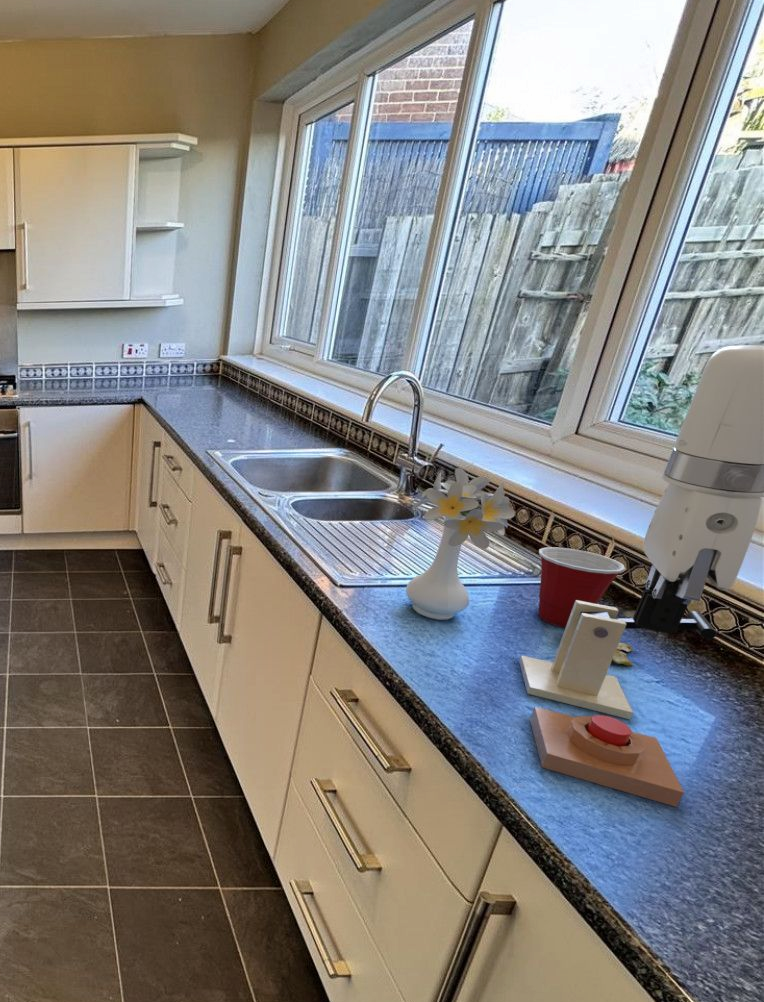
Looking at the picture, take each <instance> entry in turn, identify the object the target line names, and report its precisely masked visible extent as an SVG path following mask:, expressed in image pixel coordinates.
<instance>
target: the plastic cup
mask: <svg viewBox="0 0 764 1002" xmlns="http://www.w3.org/2000/svg"><path fill="white" fill-rule="evenodd" d="M538 555H539V557H540V565H541V572H540V573H541V575H540V582H539V583H540V585H539V594H538V595H539V597H538V598H539V600H538V601H539V602H538V617H539V618H540V619H541V620H543V621H545V622H546V623H548V624H551V625H553V626H556V627H559V628H560V627H561V628H564V629H565V628H566V625H567V623H568V620H569V617H570V614H571V612H572V609H573V606H574V603H575V601H576V600H578V601H584V602H589V603H594V604H599V602H600V600H601V599H602V597H603V596H604V594H606V591H607V590H608V589H609V587H610V585H612V584H613V582H614V580H615V579H617V577H618V575H620V574H621V573H622V572H624V571H625V570H626V568H625V567H626V566H625V565H624V564H623V563H621V562H619V561H618V560H617V559H613V558H610V557H608V556H605V555H601V554H597V553H594V552H589V551H587V550H586V551H585V550H580V549H574V548H569V547H568V548H567V547H556V546H553V547H552V546H551V547H550V546H549V547H542V548H539V549H538Z"/></svg>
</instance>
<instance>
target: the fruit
mask: <svg viewBox="0 0 764 1002" xmlns="http://www.w3.org/2000/svg"><path fill="white" fill-rule="evenodd" d="M623 651H626V652H627V653H630V652H631V651H633V647H632V645H630V644H627V643H625V642H621V641H620V642H619V644H618V647H617V649H616V652H615V654H614V657H613V659H612V662H613V663H614V664H617V665H624V666H634V664H633V662H631V661H630V660H629V659H628V654H627V653H625V652H623Z"/></svg>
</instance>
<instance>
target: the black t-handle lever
mask: <svg viewBox="0 0 764 1002" xmlns="http://www.w3.org/2000/svg"><path fill="white" fill-rule="evenodd" d="M582 613H585V614H590V615H596V616H601V617H606V618H610V616H609V614H608V612H580V614H582ZM611 619H616V620H621V621H625V623H626V627H625V629H629V630H630V629H631V630H634V629H637V630H644V629H643V628H639V627H638V626H637V625H636V623H635V622H634V620H633V618H631V617H630V618H621V617H620V618H618V617H616V618H611ZM677 630H686V631H687V630H688V631H689V630H694V631H697V633H698V634H699V635H700V636H701V637H702V638H704V639H708V640H709V639H710V640H711V639H714V638H715V637H717V635H718V633H717V631H716V630H715V628H714V627H713V625H712V624H711V623H710V622H709V621H708V620H707V618H706V617H705V616H704V615H703V614H702V613H701V612H700V611H698V610H691V611H688V612H687V613H686V618H682V619H681V622H680V624H679V626H678V628H677Z"/></svg>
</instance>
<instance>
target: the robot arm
mask: <svg viewBox="0 0 764 1002" xmlns="http://www.w3.org/2000/svg"><path fill="white" fill-rule="evenodd" d="M691 399H692V400H691V402H690V404H689V407H688V409H687V411H686V414H685V417H684V420H683V422H682V424H681V427H680V430H679V433H678V435H677V438H676V440H675V443H674V445H673V448H672V450H671V453H670V455H669V457H668V460H667V462H666V466H665V468H664V470H663V473H662V477H661V479H662V480H663V481H664V482H666V483H668V484H667V486H666V487H665V489H664V492H663V494H662V496H661V498H660V500H659V502H658V505H657V507H656V509H655V511H654V513H653V514H652V515H653V516H652V518H651V519H650V522H649V525H648V527H647V530H646V533H645V537H644V539H643V543H642V550H643V552H644V555H645V556H646V557H647V558H648V560H649V561H650V563H651V564H652V565H651V567H650V570H649V572H648V577H647V579H646V582H645V589H644V590H643V592H642V595H641V596H640V599H639V602H638V604H637V607H636V609H635V612H634V614H633V616H632V619H633V620H634V622H635V623H636V625H637V626H638V627H639V628H643V629H642V630H649V631H654V632H659V633H664V634H669V635H673V634H675V633H677V631H678V629H677V628H678V626H679V624H680V622H681V619H683V617H684V615H685V613H686V610H687V608H688V606H689V605H690V604H691V602H692V601H696V602H699V601H700V600H701V598H702V595H703V592H704V588H705V585H706V582H707V580H708V581H709V582H710V583H711V584H712V585H713V586H714V587H715V588H716V589H717V590H718V591H719V590H720V591H728V590H731V588H733V586H734V585H735V581H736V580H737V578H738V575H739V572H740V570H741V568H742V565H743V563H744V560H745V557H746V555H747V552H748V549H749V547H750V544H751V542H752V538H753V536H754V533H755V529H756V526H757V523H758V518H759V516H760V510H761V505H762V498H764V345H762V344H743V345H742V344H741V345H730V346H725V347H722V348H721V349H718V350H716V351H715V352H713V354H712V355H711V356H710V357H709V358H708V359H707V362H706V364H705V366H704V369H703V371H702V374H701V376H700V379H699V381H698V384H697V386H696V389H695V392H694V394H693V397H692V398H691Z"/></svg>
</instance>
